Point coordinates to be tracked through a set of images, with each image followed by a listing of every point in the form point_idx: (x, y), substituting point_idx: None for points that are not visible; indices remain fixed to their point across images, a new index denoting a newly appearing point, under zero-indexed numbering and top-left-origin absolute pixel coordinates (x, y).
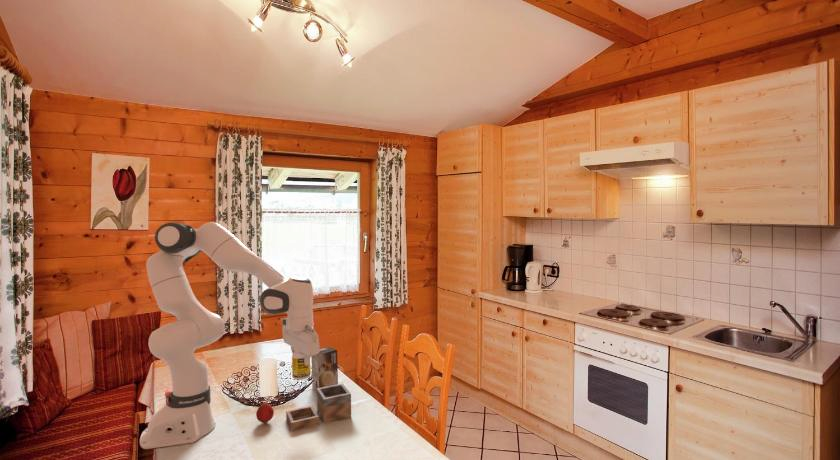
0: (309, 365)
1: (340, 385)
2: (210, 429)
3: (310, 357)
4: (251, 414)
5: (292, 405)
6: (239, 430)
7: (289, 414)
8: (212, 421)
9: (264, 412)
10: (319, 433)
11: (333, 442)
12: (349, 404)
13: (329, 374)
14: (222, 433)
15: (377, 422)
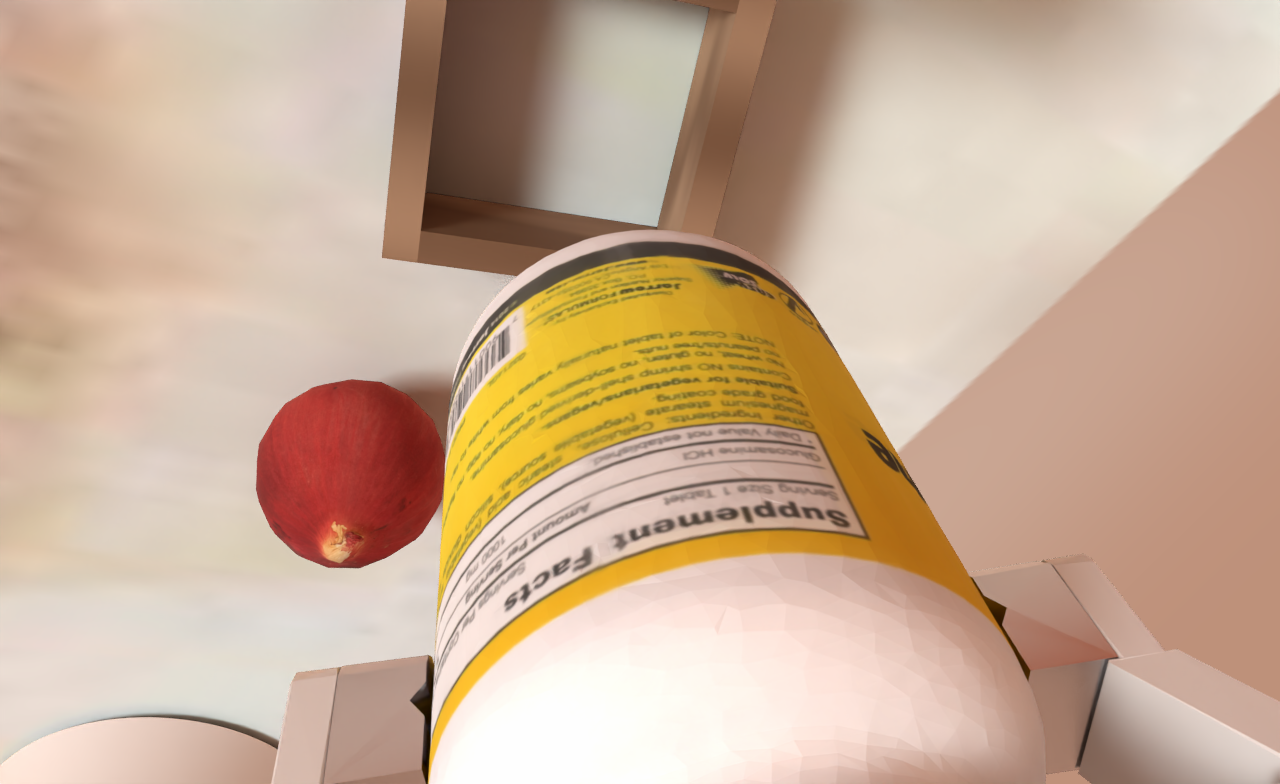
0: (873, 421)
1: None
2: (265, 756)
3: (1262, 695)
4: (84, 465)
5: (38, 23)
6: (370, 592)
7: (493, 255)
8: (198, 775)
9: (426, 519)
10: (915, 43)
11: (1165, 2)
12: None
13: None
14: None
15: None
